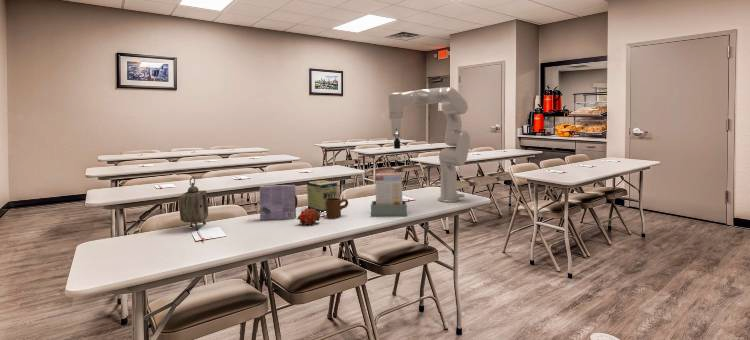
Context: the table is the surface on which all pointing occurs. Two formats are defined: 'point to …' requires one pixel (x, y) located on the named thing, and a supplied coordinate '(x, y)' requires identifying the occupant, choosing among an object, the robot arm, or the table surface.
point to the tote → (389, 209)
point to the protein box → (320, 194)
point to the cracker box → (388, 188)
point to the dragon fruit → (309, 216)
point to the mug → (335, 207)
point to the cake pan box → (278, 202)
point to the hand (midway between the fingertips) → (397, 147)
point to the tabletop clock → (193, 205)
